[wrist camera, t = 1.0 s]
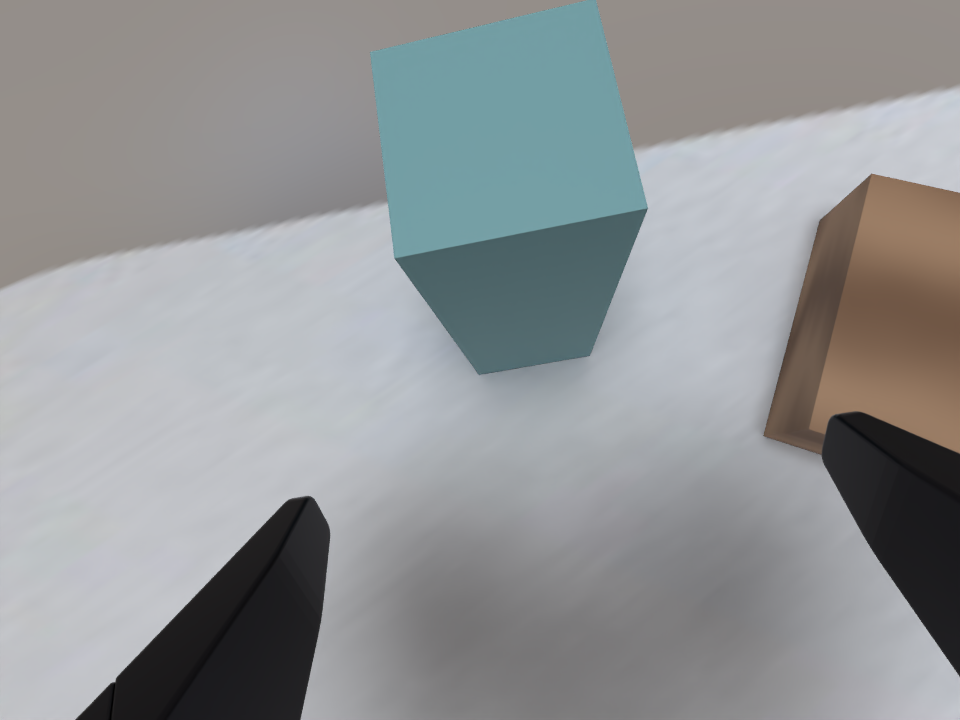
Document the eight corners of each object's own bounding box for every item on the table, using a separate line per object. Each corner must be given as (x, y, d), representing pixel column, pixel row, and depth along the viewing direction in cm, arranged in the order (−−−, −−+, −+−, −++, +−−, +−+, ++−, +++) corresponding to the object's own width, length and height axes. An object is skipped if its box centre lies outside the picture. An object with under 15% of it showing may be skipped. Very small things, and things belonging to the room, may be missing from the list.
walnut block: (1033, 525, 19) (1158, 539, 15) (759, 436, 21) (808, 429, 17) (1073, 286, 21) (1195, 244, 17) (815, 224, 22) (871, 173, 19)
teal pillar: (589, 355, 22) (647, 208, 9) (478, 374, 23) (394, 258, 10) (568, 252, 23) (595, -2, 11) (463, 272, 24) (369, 52, 11)
